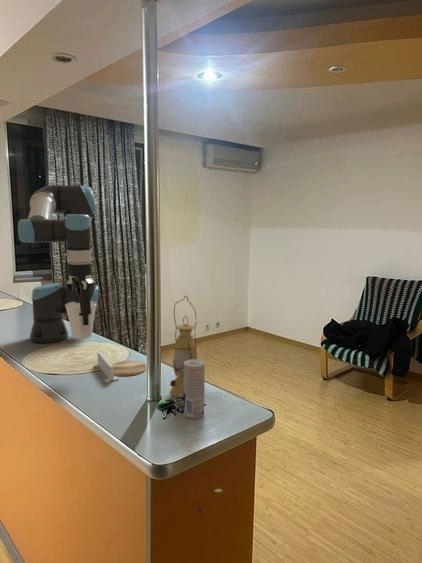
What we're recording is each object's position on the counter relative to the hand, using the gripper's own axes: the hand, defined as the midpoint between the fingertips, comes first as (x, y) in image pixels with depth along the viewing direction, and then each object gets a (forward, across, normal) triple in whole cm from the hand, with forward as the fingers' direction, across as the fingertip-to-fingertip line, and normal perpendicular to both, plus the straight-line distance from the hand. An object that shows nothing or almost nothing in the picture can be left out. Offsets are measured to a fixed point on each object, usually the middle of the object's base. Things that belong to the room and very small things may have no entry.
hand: (82, 330), depth 135 cm
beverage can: (+15, +42, +20) cm, 49 cm away
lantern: (+15, +28, +24) cm, 40 cm away
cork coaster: (+15, +2, +14) cm, 21 cm away
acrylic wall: (+15, +2, +7) cm, 17 cm away
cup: (+2, 0, 0) cm, 2 cm away
